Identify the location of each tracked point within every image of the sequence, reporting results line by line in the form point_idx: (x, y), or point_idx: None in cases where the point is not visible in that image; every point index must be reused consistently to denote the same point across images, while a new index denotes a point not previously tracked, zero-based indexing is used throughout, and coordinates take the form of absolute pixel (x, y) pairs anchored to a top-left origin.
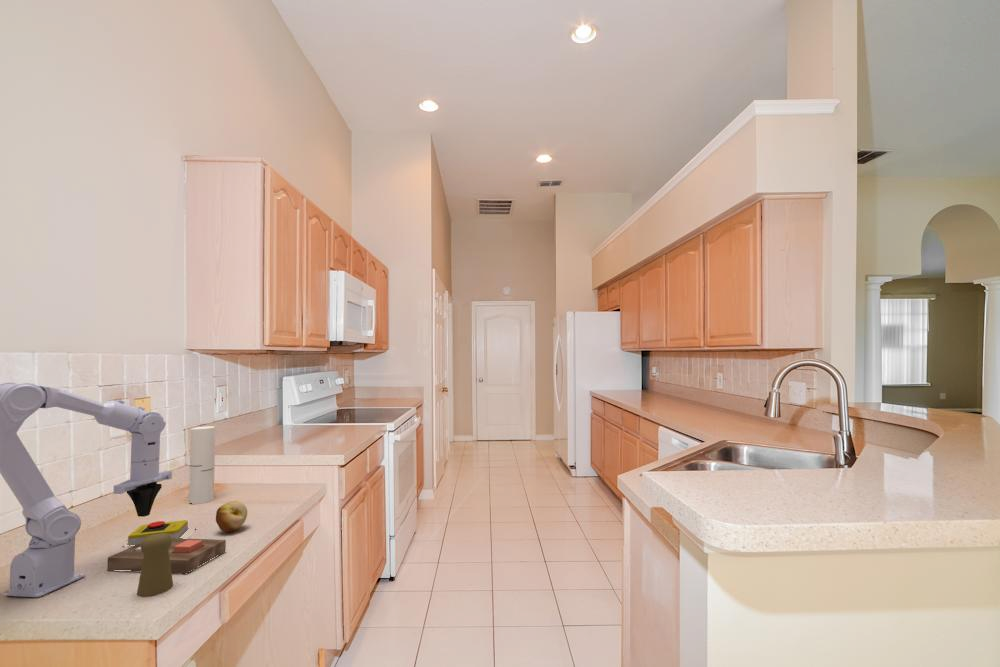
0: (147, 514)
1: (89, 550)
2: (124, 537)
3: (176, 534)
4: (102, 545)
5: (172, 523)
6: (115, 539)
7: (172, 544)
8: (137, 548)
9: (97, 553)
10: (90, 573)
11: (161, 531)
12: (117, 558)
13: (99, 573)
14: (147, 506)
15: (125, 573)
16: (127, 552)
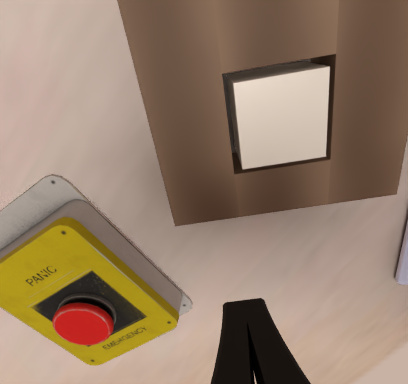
0: (246, 305)
1: None
2: (136, 354)
3: (72, 214)
4: (197, 351)
5: (28, 303)
6: (155, 360)
7: (222, 34)
8: (320, 151)
9: None
10: (383, 204)
11: (103, 267)
12: (401, 149)
13: None
14: (272, 362)
15: None
16: (343, 167)
